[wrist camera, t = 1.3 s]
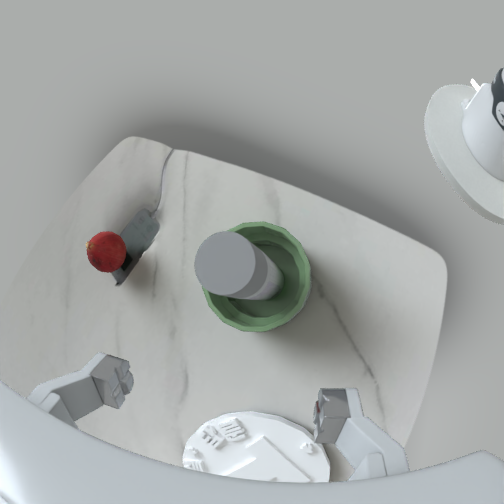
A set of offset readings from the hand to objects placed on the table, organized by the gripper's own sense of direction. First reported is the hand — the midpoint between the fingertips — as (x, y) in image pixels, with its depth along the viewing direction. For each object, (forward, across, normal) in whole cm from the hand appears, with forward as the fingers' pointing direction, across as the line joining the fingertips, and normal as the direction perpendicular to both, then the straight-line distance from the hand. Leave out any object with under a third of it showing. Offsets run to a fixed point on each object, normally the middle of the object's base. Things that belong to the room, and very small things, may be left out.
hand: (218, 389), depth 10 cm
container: (+23, 0, +5) cm, 23 cm away
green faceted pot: (+23, 0, +5) cm, 24 cm away
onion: (+27, +22, +5) cm, 35 cm away
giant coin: (+11, -2, +28) cm, 31 cm away
